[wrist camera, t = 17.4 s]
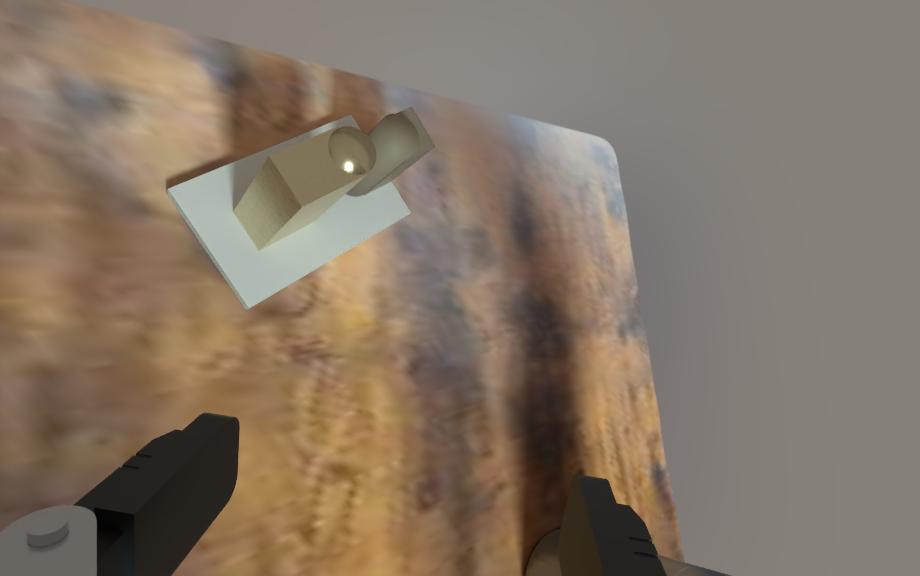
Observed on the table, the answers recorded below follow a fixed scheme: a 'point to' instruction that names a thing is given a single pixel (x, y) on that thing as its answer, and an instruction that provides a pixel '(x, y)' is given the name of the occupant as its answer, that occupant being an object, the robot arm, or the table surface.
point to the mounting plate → (319, 242)
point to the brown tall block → (303, 183)
